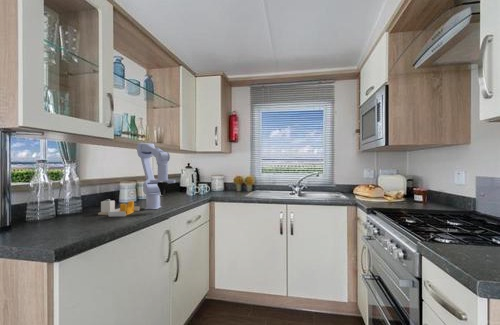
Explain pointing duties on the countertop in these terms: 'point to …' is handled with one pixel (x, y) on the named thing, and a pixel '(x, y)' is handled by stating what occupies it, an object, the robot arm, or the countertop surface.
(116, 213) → the parts bay
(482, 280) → the countertop surface
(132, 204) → the pipe clamp
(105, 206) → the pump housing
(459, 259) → the countertop surface
